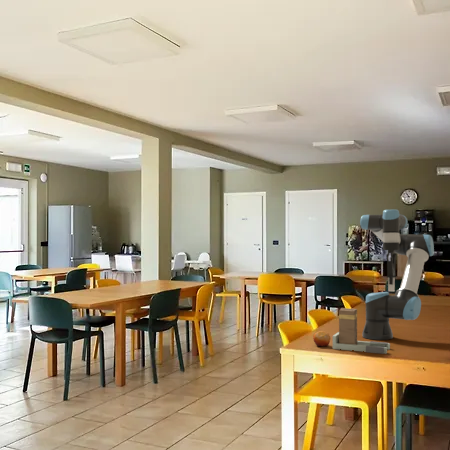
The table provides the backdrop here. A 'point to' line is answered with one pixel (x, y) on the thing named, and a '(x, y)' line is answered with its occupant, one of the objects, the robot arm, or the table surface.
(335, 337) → the chute
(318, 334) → the fruit
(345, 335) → the block
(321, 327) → the table surface
